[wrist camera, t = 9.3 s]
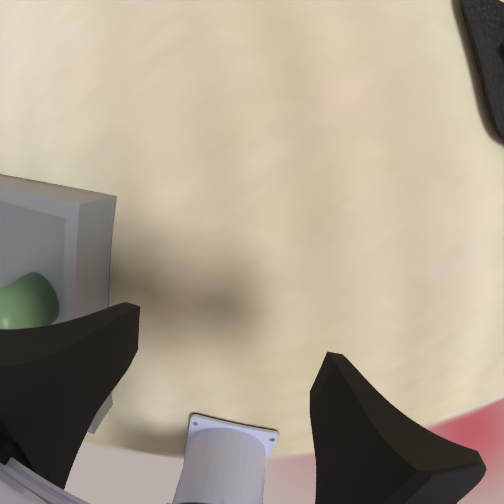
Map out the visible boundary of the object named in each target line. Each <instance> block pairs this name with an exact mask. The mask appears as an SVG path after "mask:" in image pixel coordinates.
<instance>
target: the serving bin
mask: <svg viewBox="0 0 504 504" xmlns="http://www.w3.org/2000/svg"><path fill="white" fill-rule="evenodd" d="M116 198H117V196H113V195H108V194H103V193H98V192H93V191H88V190H83V189H77V188H72V187H67V186H62V185H57V184H51V183H46V182H40V181H35V180H29V179H24V178H18V177H12V176H7V175H1V174H0V289H1V288H3V287H5V286H6V285H8V284H10V283H12V282H13V281H15V280H17V279H19V278H21V277H22V276H24V275H26V274H28V273H31V272H35V273H38V274H40V275H42V276H43V277H44V278H45V279H46V280H47V281H48V282H49V283H50V285H51V286H52V288H53V290H54V292H55V294H56V296H57V299H58V303H59V315H58V318H57V319H56V321H54V322H53V323H52V324H51V325H53V324H57V323H62V322H66V321H69V320H72V319H76V318H79V317H83V316H86V315H89V314H92V313H95V312H97V311H100V310H103V309H106V308H108V295H109V271H110V255H111V242H112V232H113V222H114V213H115V205H116ZM111 406H112V395H111V393H110V395H109V396H108V397H107V399H106V400H105V401H104V403H103V404H102V406H101V407H100V409H99V410H98V412H97V414H96V415H95V417H94V419H93V421H92V423H91V425H90V427H89V429H88V432H90V433H92V434H94V432H95V431H96V429H97V428H98V426H99V425H100V423H101V421H102V420H103V418H104V417H105V415H106V414H107V412H108V410H109V409H110V407H111Z"/></svg>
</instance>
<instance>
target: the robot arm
mask: <svg viewBox="0 0 504 504" xmlns="http://www.w3.org/2000/svg"><path fill="white" fill-rule="evenodd" d="M139 315H140V306H136V305H133V304H130V303H127V302H125V303H121V304H118V305H115V306H112V307H109V308H106V309H103V310H100V311H97V312H95V313H92V314H89V315H86V316H83V317H79V318H76V319H72V320H69V321H66V322H62V323H57V324H53V325H47V326H42V327H34V328H23V329H0V504H90V503H88V502H85V501H84V500H81V499H80V498H78V497H76V496H74V495H72V494H70V493H68V492H66V491H64V488H65V485H66V482H67V479H68V476H69V473H70V470H71V467H72V465H73V462H74V460H75V457H76V455H77V453H78V450H79V448H80V446H81V444H82V441H83V439H84V437H85V435H86V433H87V431H88V429H89V427H90V425H91V423H92V421H93V419H94V417H95V415H96V414H97V412H98V410H99V409H100V407H101V406H102V404H103V403H104V401H105V400H106V399H107V397H108V396H109V395H110V393H111V392H112V390H113V389H114V388H115V386H116V385H117V383H118V382H119V381H120V379H121V378H122V376H123V375H124V374H125V372H126V371H127V369H128V368H129V366H130V364H131V362H132V360H133V358H134V356H135V354H136V352H137V350H138V333H139ZM310 419H311V427H312V434H313V442H314V449H315V457H316V499H315V500H316V501H315V504H457V502H458V501H459V500H461V499H462V498H463V497H464V496H465V495H466V494H467V493H469V492H470V491H471V490H472V489H473V488H474V487H475V486H476V485H477V484H478V483H479V482H480V481H481V479H482V478H483V476H484V474H485V471H486V466H485V464H484V462H483V460H482V458H481V456H480V454H479V453H478V452H477V451H476V450H473V449H470V448H467V447H464V446H461V445H458V444H456V443H453V442H451V441H448V440H446V439H444V438H442V437H440V436H438V435H436V434H434V433H432V432H430V431H429V430H427V429H425V428H424V427H422V426H420V425H419V424H417V423H416V422H414V421H413V420H411V419H410V418H408V417H407V416H406V415H404V414H403V413H402V412H401V411H399V410H398V409H397V408H395V407H394V406H393V405H392V404H391V403H390V402H388V401H387V400H386V399H385V398H384V397H383V396H382V395H381V394H380V393H379V392H378V391H377V390H376V389H375V388H374V387H373V386H372V385H371V384H370V383H369V382H368V381H367V380H366V379H365V378H364V377H363V376H362V374H361V373H360V372H359V371H358V370H357V369H356V368H355V367H354V366H353V365H352V364H351V362H350V361H349V360H348V359H347V358H346V357H345V356H344V355H342V354H338V353H332V352H327V354H326V356H325V358H324V361H323V363H322V366H321V368H320V370H319V372H318V375H317V377H316V379H315V382H314V384H313V386H312V388H311V390H310ZM196 422H197V423H196ZM278 438H279V432H277V431H273V430H267V429H261V428H256V427H250V426H245V425H240V424H235V423H231V422H226V421H222V420H218V419H213V418H209V417H205V416H201V415H198V414H193V415H192V416H191V418H190V424H189V431H188V437H187V444H186V451H185V458H184V466H183V470H182V473H181V476H180V480H179V483H178V486H177V489H176V493H175V496H174V499H173V502H172V504H263V492H264V477H265V463H266V462H267V460H268V458H269V456H270V454H271V452H272V450H273V448H274V446H275V444H276V442H277V440H278ZM167 504H170V503H167Z"/></svg>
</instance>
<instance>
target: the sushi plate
mask: <svg viewBox="0 0 504 504" xmlns="http://www.w3.org/2000/svg"><path fill="white" fill-rule="evenodd" d="M460 1H461V6H462V10H463V14H464V18H465V21H466V24H467V27H468V31H469V34H470V37H471V41H472V44H473V48H474V51H475V55H476V59H477V63H478V67H479V71H480V75H481V79H482V83H483V88H484V92H485V97H486V101H487V105H488V109H489V113H490V116H491V119H492V122H493V125H494V127H495V129H496V131H497V133H498V135H499V136H500V137H501V138H502V139H503V140H504V3H503V2H501V1H499V0H460Z"/></svg>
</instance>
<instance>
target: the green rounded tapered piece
mask: <svg viewBox="0 0 504 504" xmlns="http://www.w3.org/2000/svg"><path fill="white" fill-rule="evenodd" d="M58 315H59V303H58V299H57V296H56V294H55V292H54V290H53V288H52V286H51V285H50V283H49V282H48V281H47V280H46V279H45V278H44V277H43V276H42V275H40V274H38V273H35V272H31V273H28V274H26V275H24V276H22V277H21V278H19V279H17V280H15V281H13V282H12V283H10V284H8V285H6V286H5V287H3V288H1V289H0V329H23V328H34V327H42V326H47V325H51V324H52V323H53V322H54V321H56V319H57V318H58Z"/></svg>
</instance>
